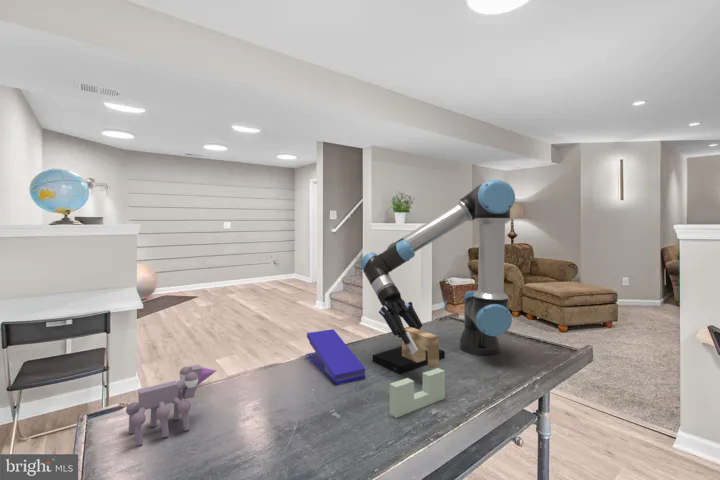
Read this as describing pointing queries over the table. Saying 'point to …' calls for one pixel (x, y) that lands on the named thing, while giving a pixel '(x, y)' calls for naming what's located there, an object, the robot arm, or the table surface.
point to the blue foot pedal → (334, 357)
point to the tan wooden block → (422, 347)
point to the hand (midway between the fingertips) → (420, 350)
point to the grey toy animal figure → (166, 401)
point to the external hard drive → (400, 360)
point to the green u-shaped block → (408, 401)
